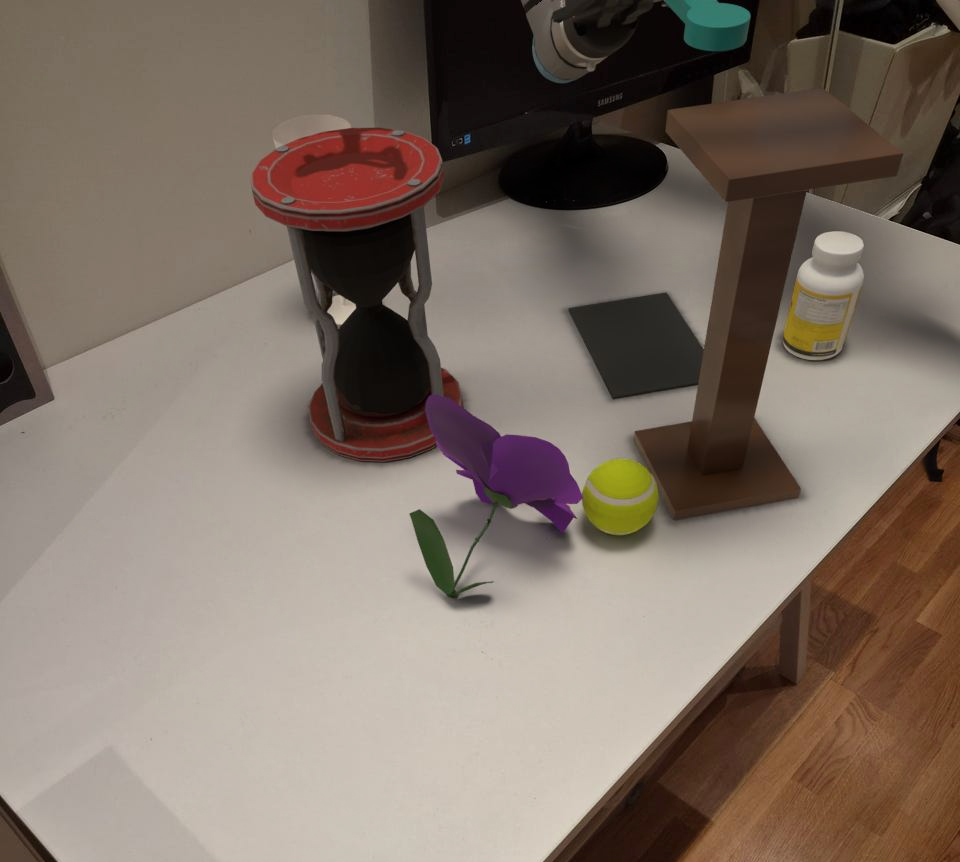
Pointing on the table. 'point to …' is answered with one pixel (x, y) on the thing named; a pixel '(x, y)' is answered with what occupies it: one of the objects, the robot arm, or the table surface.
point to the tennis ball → (620, 496)
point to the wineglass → (301, 129)
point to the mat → (640, 344)
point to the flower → (492, 479)
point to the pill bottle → (825, 297)
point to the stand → (751, 282)
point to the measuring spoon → (712, 23)
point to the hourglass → (363, 280)
